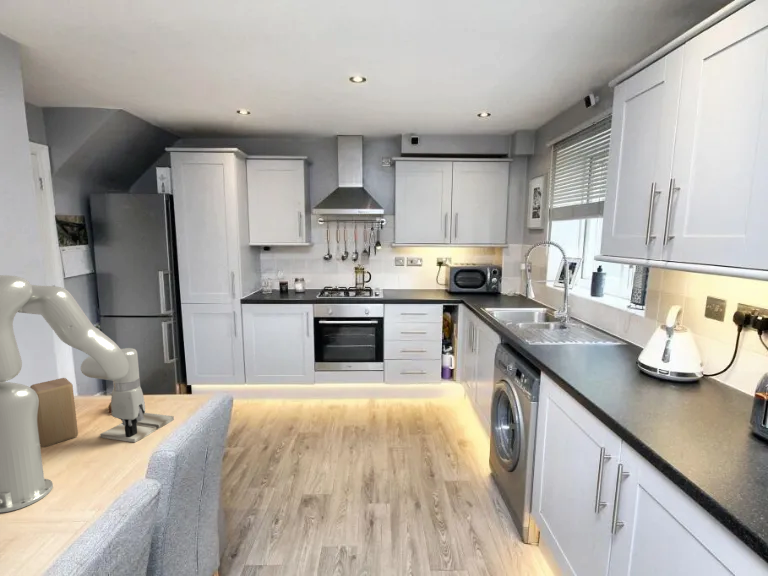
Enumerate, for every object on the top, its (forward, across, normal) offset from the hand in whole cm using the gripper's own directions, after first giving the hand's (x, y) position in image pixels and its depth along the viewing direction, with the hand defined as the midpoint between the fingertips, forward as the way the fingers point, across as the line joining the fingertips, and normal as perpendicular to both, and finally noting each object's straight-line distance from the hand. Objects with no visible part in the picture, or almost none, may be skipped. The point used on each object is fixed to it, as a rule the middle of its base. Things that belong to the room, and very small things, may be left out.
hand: (131, 435), depth 133 cm
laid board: (+1, -4, +12) cm, 12 cm away
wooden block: (+2, -26, -6) cm, 27 cm away
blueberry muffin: (+2, -24, +18) cm, 30 cm away
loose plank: (+1, -4, +2) cm, 5 cm away
